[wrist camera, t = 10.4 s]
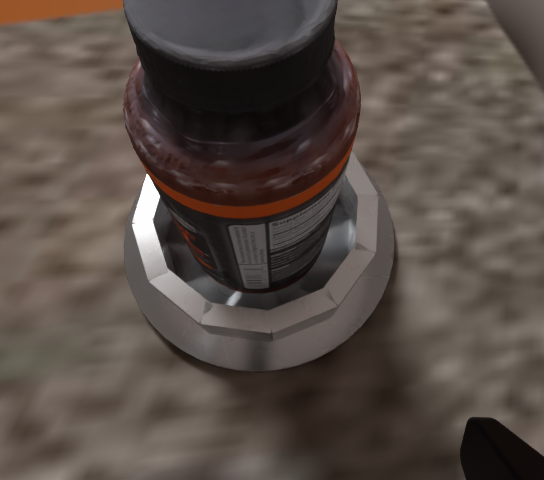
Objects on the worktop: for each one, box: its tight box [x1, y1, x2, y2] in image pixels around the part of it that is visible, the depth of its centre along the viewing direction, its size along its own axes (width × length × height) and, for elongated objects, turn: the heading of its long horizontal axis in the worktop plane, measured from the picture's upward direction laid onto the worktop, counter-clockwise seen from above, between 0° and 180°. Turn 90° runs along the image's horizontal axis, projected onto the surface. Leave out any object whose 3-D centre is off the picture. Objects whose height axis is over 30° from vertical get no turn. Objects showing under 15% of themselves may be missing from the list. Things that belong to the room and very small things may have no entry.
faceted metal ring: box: [124, 151, 394, 372], centre depth 17 cm, size 12×12×2 cm
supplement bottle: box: [123, 0, 361, 294], centre depth 12 cm, size 6×6×11 cm
